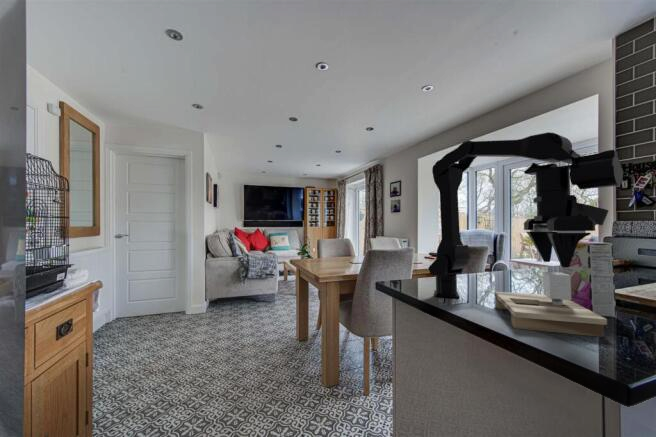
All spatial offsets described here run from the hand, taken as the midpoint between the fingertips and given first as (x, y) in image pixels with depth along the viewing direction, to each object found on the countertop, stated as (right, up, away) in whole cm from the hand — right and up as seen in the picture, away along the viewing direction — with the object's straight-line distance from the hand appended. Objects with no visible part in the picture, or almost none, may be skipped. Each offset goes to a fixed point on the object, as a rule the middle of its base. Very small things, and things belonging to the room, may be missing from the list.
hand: (555, 264), depth 60 cm
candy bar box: (+13, -12, +7) cm, 19 cm away
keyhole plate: (-3, -12, +1) cm, 12 cm away
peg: (0, -12, 0) cm, 12 cm away
